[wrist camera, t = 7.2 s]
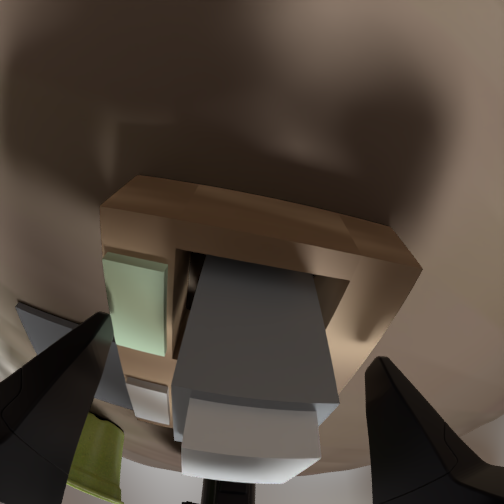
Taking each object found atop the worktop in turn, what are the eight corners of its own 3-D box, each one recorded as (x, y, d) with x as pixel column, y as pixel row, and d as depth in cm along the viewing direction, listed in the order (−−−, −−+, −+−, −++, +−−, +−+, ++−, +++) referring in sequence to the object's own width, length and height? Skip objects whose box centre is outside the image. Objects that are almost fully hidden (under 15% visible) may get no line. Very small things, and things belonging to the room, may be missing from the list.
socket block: (291, 405, 18) (294, 447, 15) (147, 382, 17) (135, 424, 14) (390, 226, 11) (427, 276, 8) (137, 174, 10) (92, 212, 7)
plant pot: (97, 436, 26) (81, 492, 19) (45, 396, 22) (20, 458, 14) (155, 444, 25) (142, 511, 17) (99, 403, 20) (74, 484, 13)
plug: (281, 312, 13) (291, 486, 6) (204, 299, 13) (168, 474, 6) (305, 246, 11) (347, 451, 4) (214, 228, 11) (159, 436, 4)
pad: (146, 408, 19) (145, 413, 19) (53, 376, 18) (51, 380, 18) (134, 340, 15) (131, 347, 14) (18, 302, 14) (15, 306, 13)
